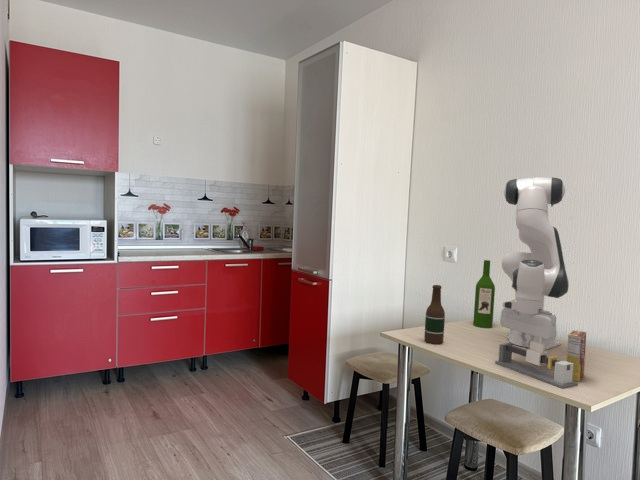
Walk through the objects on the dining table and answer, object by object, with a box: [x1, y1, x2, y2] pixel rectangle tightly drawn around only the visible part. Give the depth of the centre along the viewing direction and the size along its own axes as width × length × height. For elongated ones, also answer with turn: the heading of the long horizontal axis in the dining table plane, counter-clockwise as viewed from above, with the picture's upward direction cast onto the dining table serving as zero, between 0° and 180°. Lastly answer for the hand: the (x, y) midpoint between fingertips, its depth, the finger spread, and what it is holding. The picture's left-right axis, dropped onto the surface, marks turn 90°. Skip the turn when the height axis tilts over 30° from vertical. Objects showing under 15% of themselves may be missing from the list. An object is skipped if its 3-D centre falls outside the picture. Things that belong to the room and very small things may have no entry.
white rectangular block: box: [525, 341, 548, 366], centre depth 157 cm, size 4×5×7 cm
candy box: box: [566, 330, 587, 383], centre depth 155 cm, size 9×4×15 cm, turn 140°
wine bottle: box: [472, 259, 496, 329], centre depth 225 cm, size 9×9×32 cm
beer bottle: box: [423, 284, 446, 345], centre depth 192 cm, size 8×8×24 cm
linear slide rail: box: [494, 342, 579, 390], centre depth 158 cm, size 8×26×8 cm, turn 29°
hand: (525, 345), depth 161 cm, fingers closed
